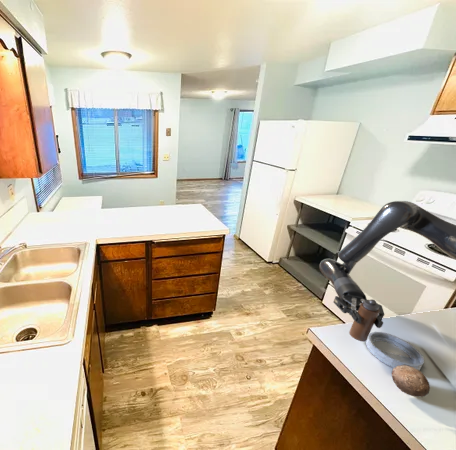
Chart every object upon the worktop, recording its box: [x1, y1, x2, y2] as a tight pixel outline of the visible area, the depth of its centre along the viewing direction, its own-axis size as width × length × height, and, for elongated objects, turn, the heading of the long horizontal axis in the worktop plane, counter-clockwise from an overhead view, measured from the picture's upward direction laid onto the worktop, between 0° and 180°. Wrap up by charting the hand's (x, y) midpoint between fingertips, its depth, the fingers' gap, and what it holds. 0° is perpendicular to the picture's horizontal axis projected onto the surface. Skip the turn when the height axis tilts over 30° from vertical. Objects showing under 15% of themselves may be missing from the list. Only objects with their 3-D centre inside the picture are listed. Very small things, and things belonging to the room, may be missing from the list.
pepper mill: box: [348, 298, 380, 342], centre depth 77 cm, size 5×5×15 cm
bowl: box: [365, 331, 425, 371], centre depth 79 cm, size 13×13×4 cm
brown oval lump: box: [391, 365, 431, 398], centre depth 68 cm, size 8×8×6 cm
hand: (369, 323), depth 75 cm, fingers closed on pepper mill, 4 cm apart
